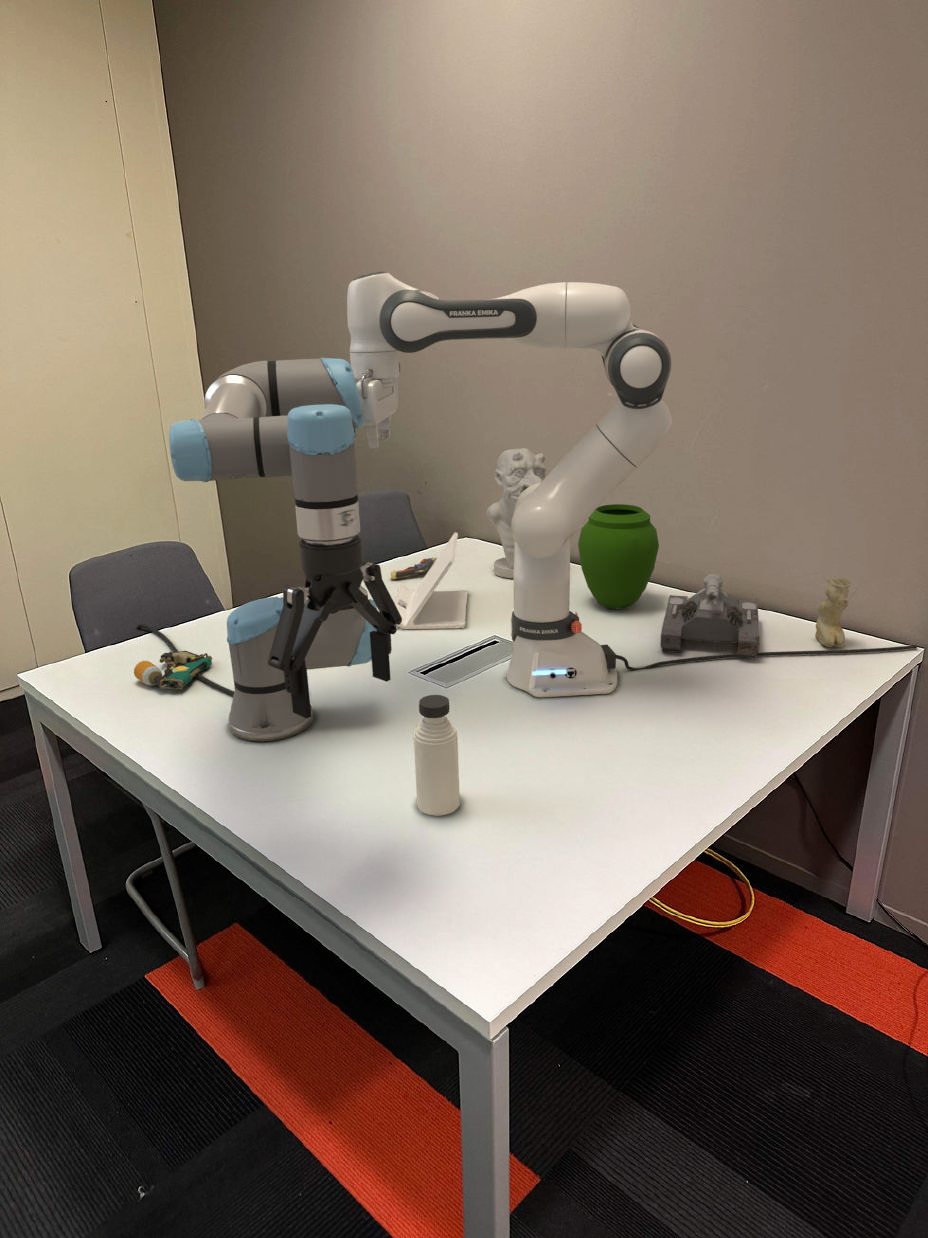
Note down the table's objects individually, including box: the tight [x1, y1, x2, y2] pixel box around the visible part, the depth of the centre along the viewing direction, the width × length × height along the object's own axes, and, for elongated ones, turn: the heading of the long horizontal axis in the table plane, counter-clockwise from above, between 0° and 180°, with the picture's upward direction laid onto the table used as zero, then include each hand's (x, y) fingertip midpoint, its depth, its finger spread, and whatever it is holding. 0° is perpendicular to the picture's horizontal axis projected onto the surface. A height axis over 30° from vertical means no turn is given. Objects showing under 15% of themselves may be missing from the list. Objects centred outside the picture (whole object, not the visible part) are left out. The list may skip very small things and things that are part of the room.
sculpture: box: [814, 576, 852, 648], centre depth 185 cm, size 6×7×15 cm
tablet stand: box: [393, 531, 468, 630], centre depth 211 cm, size 18×25×17 cm
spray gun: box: [133, 650, 213, 690], centre depth 180 cm, size 4×17×15 cm
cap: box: [418, 694, 451, 718], centre depth 127 cm, size 4×4×2 cm
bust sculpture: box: [485, 447, 547, 579], centre depth 231 cm, size 16×24×35 cm
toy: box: [660, 573, 760, 658], centre depth 190 cm, size 25×20×15 cm
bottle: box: [413, 715, 461, 817], centre depth 129 cm, size 7×7×17 cm
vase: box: [577, 503, 660, 610], centre depth 210 cm, size 20×20×24 cm
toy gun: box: [390, 557, 438, 580], centre depth 245 cm, size 3×19×10 cm
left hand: (343, 695), depth 111 cm, fingers open, 13 cm apart
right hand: (379, 443), depth 162 cm, fingers open, 8 cm apart
